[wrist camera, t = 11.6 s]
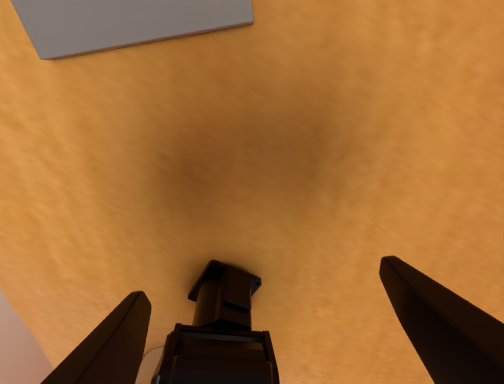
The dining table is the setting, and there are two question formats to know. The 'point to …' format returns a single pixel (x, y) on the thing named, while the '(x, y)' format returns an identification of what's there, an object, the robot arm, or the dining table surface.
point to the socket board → (121, 22)
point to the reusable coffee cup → (149, 366)
